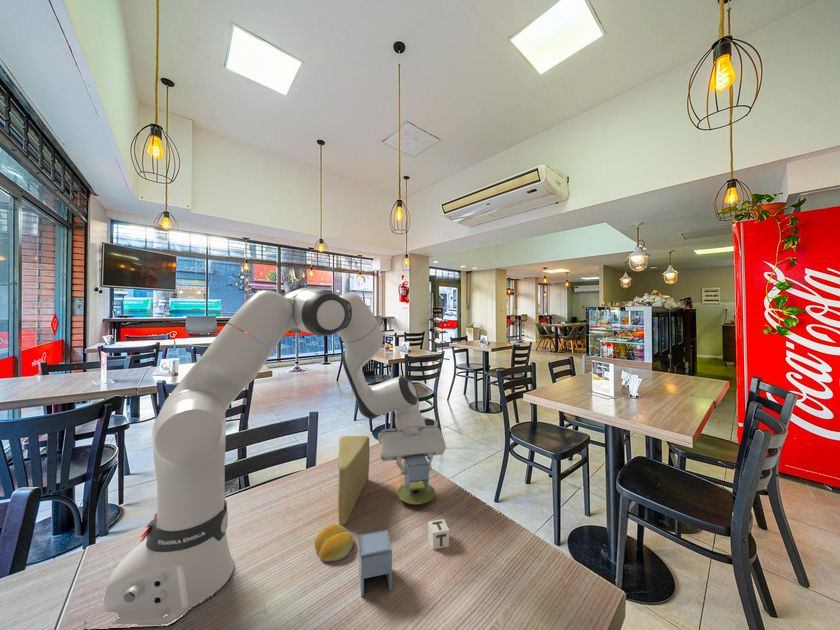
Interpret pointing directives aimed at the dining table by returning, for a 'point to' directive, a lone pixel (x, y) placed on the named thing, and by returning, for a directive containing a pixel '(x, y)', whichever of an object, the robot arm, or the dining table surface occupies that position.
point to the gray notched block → (375, 557)
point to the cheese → (351, 473)
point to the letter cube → (438, 534)
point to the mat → (416, 493)
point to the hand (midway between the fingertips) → (416, 472)
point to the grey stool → (416, 470)
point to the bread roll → (333, 543)
